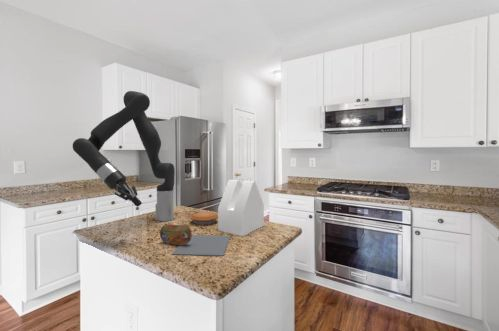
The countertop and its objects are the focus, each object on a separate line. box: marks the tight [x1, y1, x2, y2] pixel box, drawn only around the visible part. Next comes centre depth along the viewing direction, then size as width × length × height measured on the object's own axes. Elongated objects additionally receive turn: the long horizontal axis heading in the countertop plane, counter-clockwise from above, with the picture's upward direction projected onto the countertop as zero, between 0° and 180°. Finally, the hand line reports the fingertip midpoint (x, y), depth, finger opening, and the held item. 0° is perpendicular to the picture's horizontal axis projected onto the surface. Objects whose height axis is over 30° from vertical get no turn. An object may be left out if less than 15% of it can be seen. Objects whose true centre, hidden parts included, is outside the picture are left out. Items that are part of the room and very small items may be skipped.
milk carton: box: [217, 179, 265, 237], centre depth 126 cm, size 19×15×25 cm
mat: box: [171, 234, 232, 257], centre depth 104 cm, size 20×22×1 cm
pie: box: [189, 211, 218, 226], centre depth 138 cm, size 15×16×5 cm
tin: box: [159, 223, 193, 246], centre depth 104 cm, size 15×3×8 cm, turn 68°
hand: (139, 204), depth 104 cm, fingers closed
